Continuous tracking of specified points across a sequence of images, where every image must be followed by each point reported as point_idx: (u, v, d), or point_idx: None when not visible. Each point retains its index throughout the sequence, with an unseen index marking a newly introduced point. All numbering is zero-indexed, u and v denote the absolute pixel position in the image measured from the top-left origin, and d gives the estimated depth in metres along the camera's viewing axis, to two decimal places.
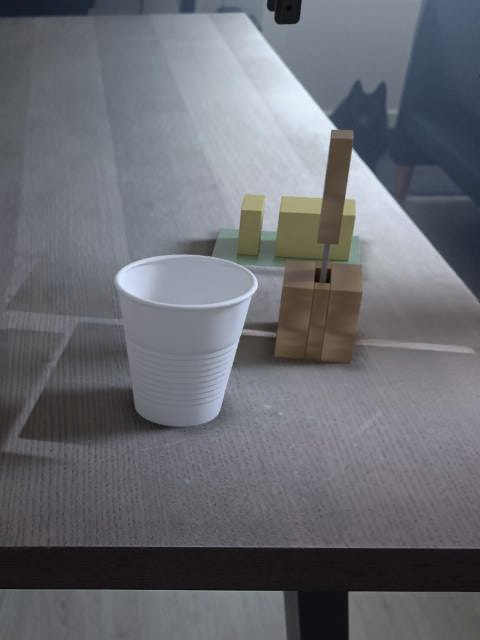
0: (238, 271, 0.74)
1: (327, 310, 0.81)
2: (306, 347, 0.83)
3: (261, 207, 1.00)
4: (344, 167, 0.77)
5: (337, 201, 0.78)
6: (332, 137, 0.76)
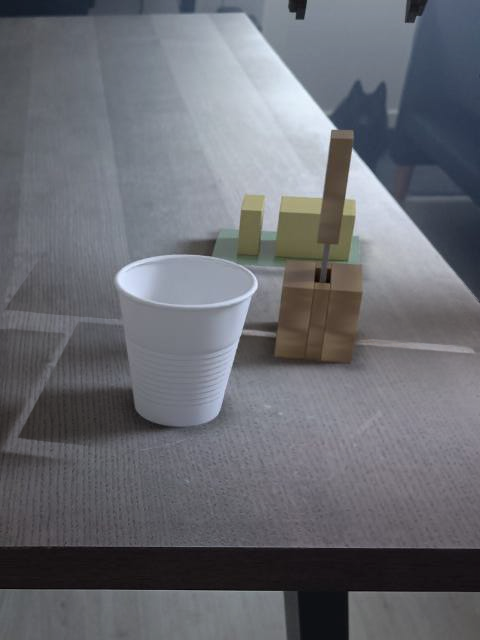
0: (238, 271, 0.74)
1: (327, 310, 0.81)
2: (306, 347, 0.83)
3: (261, 207, 1.00)
4: (344, 167, 0.77)
5: (337, 201, 0.78)
6: (332, 137, 0.76)
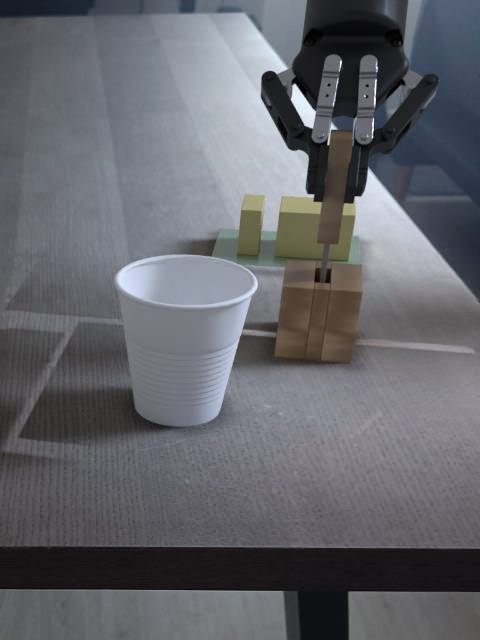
0: (238, 271, 0.74)
1: (327, 310, 0.81)
2: (306, 347, 0.83)
3: (261, 207, 1.00)
4: (344, 167, 0.77)
5: (337, 201, 0.78)
6: (332, 137, 0.76)
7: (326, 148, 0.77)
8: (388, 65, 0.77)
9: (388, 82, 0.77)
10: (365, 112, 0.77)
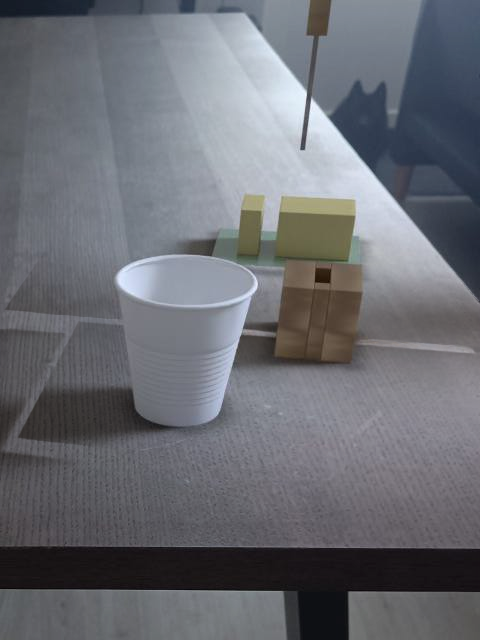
0: (238, 271, 0.74)
1: (327, 310, 0.81)
2: (306, 347, 0.83)
3: (261, 207, 1.00)
4: None
5: None
6: None
7: None
8: None
9: None
10: None
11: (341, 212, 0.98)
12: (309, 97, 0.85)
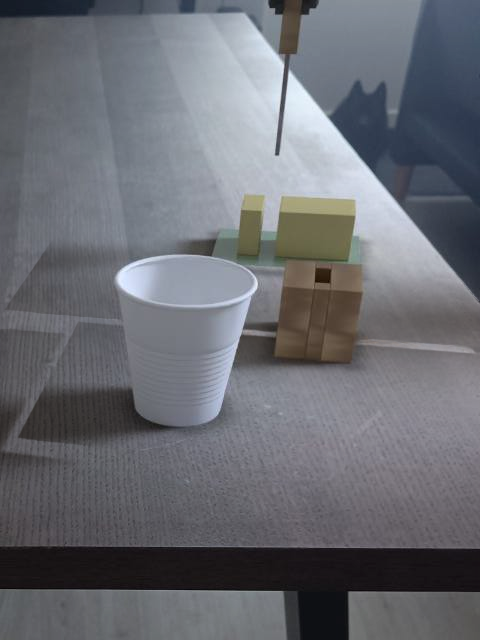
0: (238, 271, 0.74)
1: (327, 310, 0.81)
2: (306, 347, 0.83)
3: (261, 207, 1.00)
4: None
5: (295, 13, 0.91)
6: None
7: None
8: None
9: None
10: None
11: (341, 212, 0.98)
12: (282, 108, 0.95)
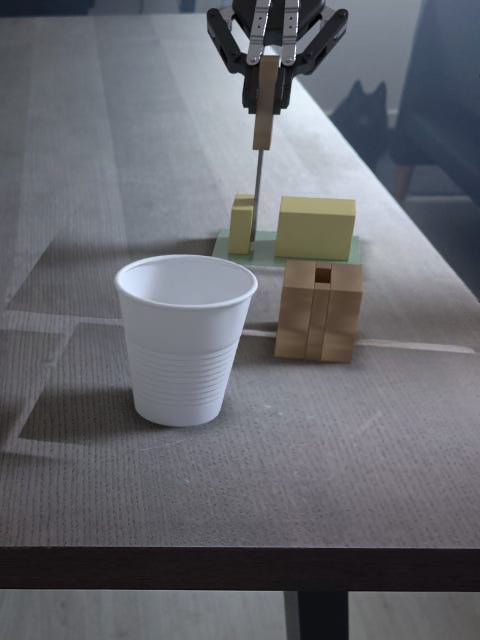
0: (238, 271, 0.74)
1: (327, 310, 0.81)
2: (306, 347, 0.83)
3: (251, 206, 1.01)
4: (272, 85, 0.94)
5: (267, 114, 0.96)
6: (261, 60, 0.94)
7: (258, 69, 0.95)
8: (308, 2, 0.95)
9: (308, 16, 0.95)
10: (289, 39, 0.94)
11: (341, 212, 0.98)
12: (256, 199, 1.00)
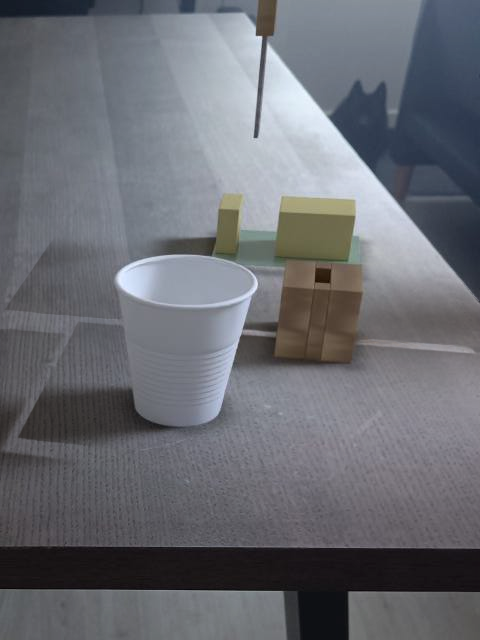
0: (238, 271, 0.74)
1: (327, 310, 0.81)
2: (306, 347, 0.83)
3: (239, 206, 1.01)
4: None
5: None
6: None
7: None
8: None
9: None
10: None
11: (341, 212, 0.98)
12: (260, 90, 0.95)
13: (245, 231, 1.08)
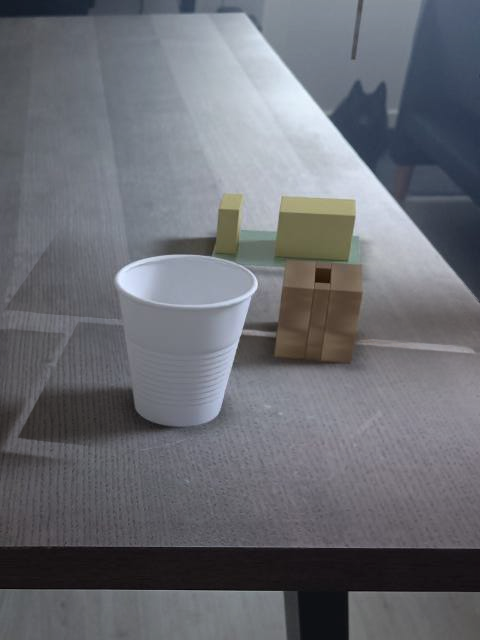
0: (238, 271, 0.74)
1: (327, 310, 0.81)
2: (306, 347, 0.83)
3: (239, 206, 1.01)
4: None
5: None
6: None
7: None
8: None
9: None
10: None
11: (341, 212, 0.98)
12: (360, 8, 0.92)
13: (245, 231, 1.08)
